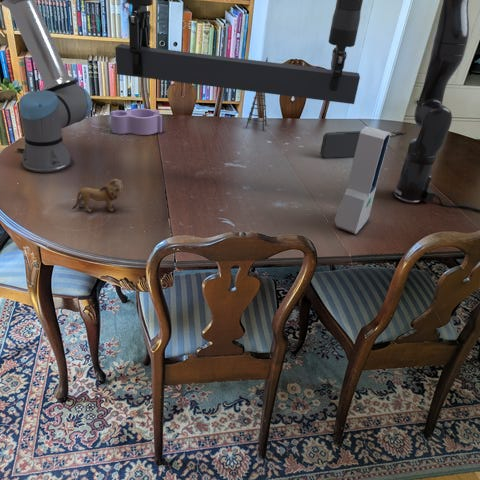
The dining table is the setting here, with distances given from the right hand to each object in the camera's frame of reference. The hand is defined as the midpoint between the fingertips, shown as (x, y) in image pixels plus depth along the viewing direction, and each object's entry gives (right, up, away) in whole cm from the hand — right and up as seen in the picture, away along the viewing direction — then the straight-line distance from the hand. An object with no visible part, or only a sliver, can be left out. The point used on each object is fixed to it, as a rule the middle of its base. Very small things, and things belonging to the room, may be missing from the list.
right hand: (332, 87), depth 140 cm
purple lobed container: (-71, 0, +54) cm, 89 cm away
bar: (-30, +1, +3) cm, 30 cm away
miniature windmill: (-21, +6, +71) cm, 74 cm away
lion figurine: (-69, -37, -2) cm, 78 cm away
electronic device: (+6, -41, +4) cm, 42 cm away
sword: (+39, +1, +74) cm, 83 cm away
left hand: (-59, +6, +5) cm, 59 cm away
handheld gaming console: (+15, -12, +51) cm, 54 cm away
